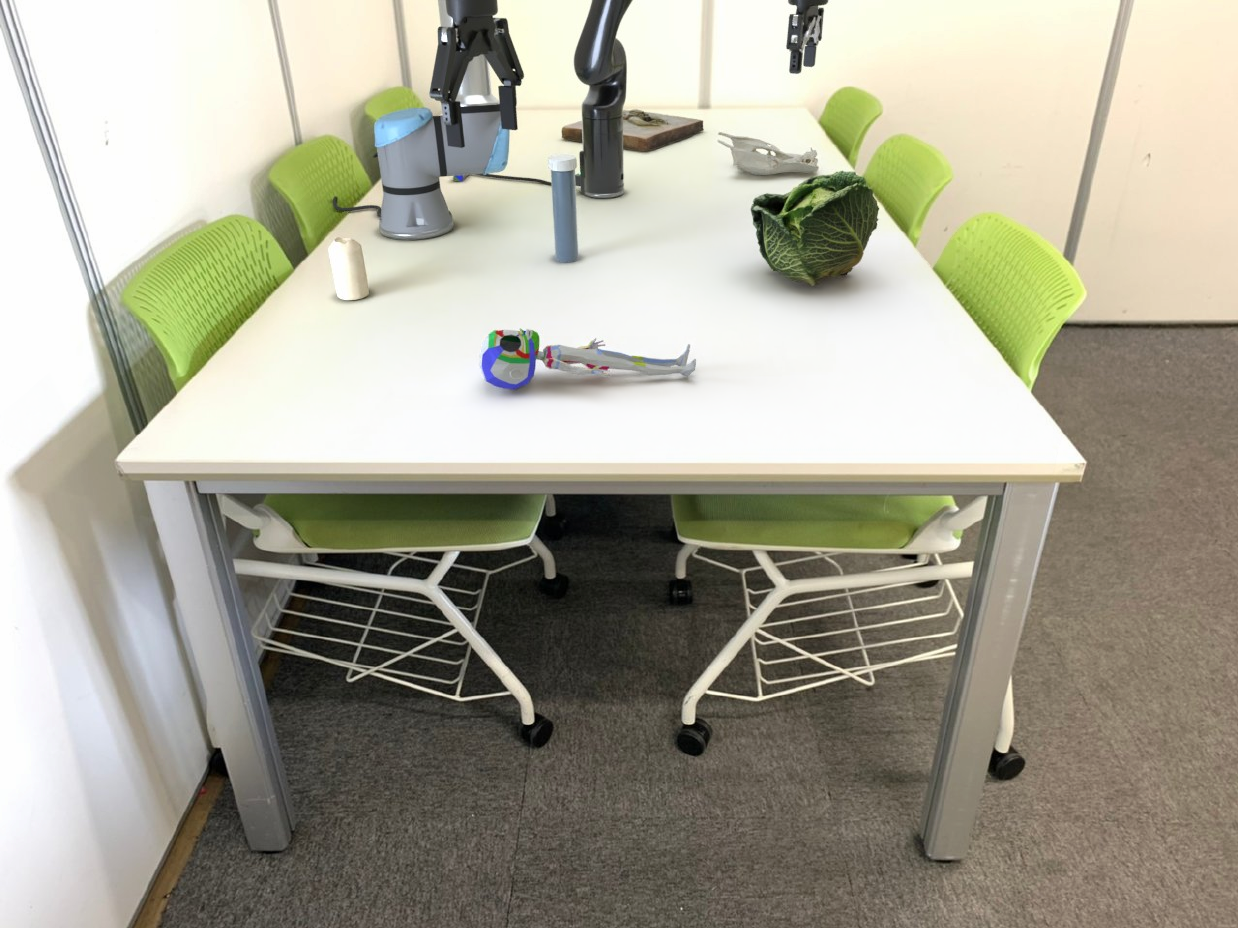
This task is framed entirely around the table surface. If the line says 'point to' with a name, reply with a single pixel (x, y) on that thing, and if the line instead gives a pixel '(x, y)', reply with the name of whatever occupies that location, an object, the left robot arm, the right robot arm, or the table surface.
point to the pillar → (459, 177)
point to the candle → (348, 269)
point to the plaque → (645, 129)
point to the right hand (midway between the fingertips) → (802, 70)
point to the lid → (562, 162)
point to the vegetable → (816, 226)
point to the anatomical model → (767, 157)
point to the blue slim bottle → (564, 215)
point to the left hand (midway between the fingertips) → (483, 138)
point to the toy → (561, 359)
